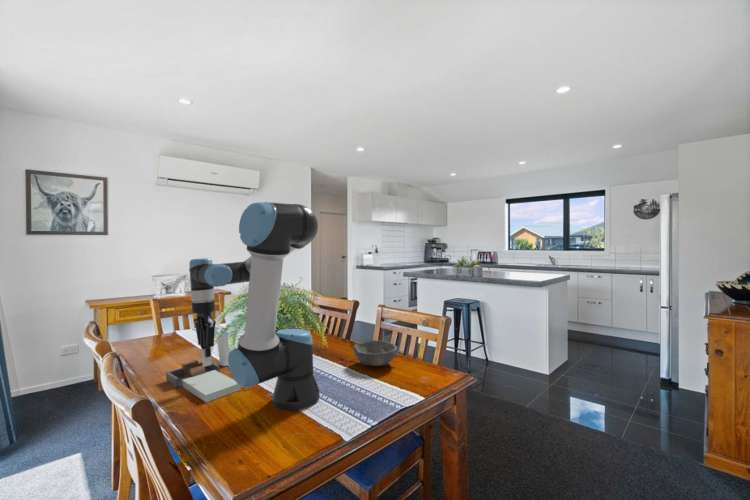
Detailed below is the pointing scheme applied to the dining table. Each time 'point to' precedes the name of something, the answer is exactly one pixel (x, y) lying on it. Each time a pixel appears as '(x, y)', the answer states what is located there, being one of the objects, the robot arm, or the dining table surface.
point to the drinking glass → (223, 348)
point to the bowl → (375, 352)
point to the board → (210, 385)
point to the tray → (177, 377)
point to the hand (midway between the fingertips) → (207, 365)
